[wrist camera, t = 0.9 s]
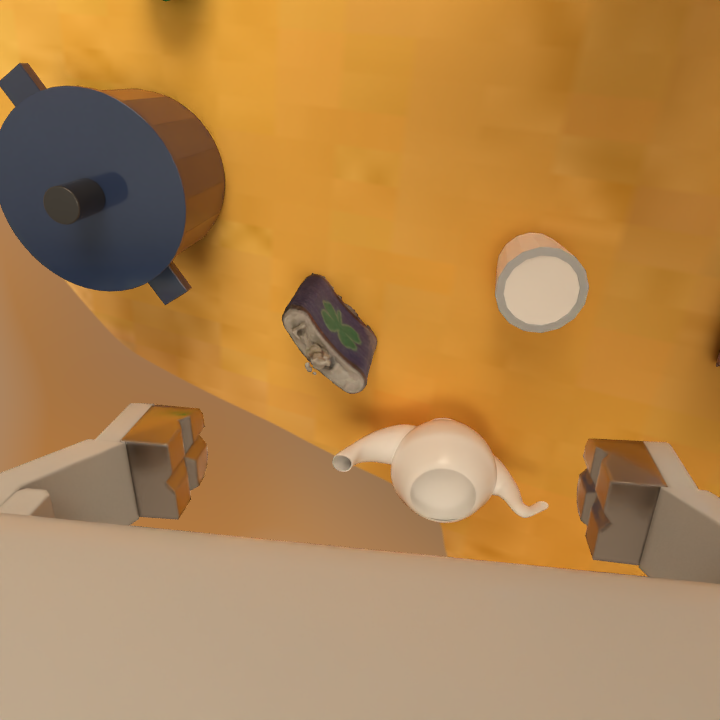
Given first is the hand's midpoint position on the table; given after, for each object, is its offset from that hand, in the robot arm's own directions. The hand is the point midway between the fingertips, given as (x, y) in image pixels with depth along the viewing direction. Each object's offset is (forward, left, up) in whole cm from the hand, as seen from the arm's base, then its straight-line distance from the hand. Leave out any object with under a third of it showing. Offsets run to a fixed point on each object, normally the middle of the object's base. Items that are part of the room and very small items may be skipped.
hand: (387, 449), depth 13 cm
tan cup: (+5, +10, -41) cm, 43 cm away
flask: (+14, -5, -41) cm, 44 cm away
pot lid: (+6, -24, -31) cm, 40 cm away
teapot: (+24, +8, -41) cm, 48 cm away
